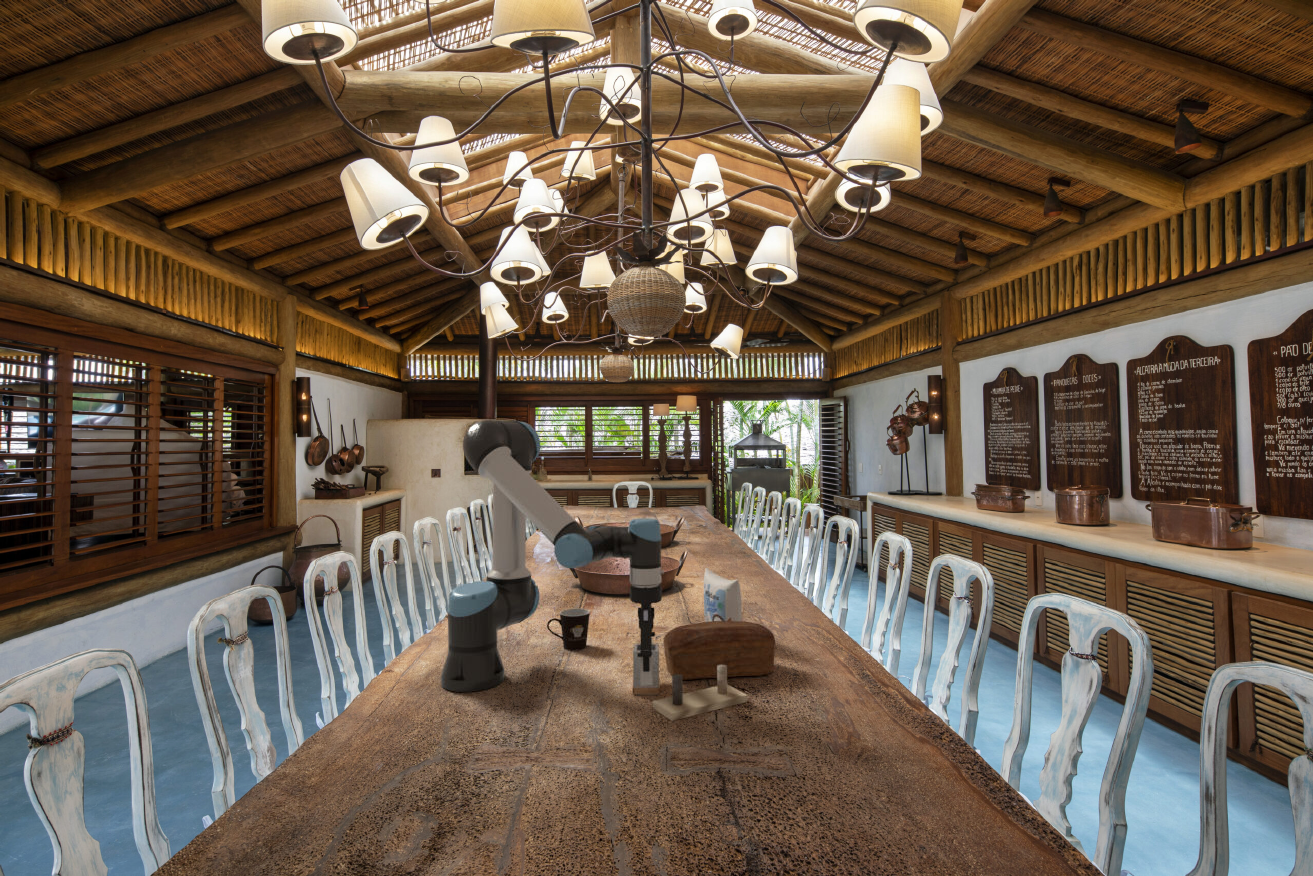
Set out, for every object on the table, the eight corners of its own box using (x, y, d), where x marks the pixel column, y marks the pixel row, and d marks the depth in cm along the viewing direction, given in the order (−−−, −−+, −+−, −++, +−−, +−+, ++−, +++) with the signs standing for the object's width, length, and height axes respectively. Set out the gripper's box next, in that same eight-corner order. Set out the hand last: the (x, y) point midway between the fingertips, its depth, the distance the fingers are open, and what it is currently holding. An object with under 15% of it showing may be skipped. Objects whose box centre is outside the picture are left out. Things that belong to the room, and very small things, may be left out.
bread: (781, 678, 162) (781, 629, 162) (669, 685, 158) (669, 635, 158) (764, 660, 176) (763, 614, 176) (660, 666, 172) (660, 619, 172)
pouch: (720, 631, 203) (720, 566, 203) (749, 649, 185) (749, 578, 185) (697, 633, 200) (697, 568, 201) (724, 652, 183) (724, 580, 183)
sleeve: (660, 694, 152) (659, 651, 152) (632, 695, 152) (632, 651, 152) (659, 684, 158) (659, 643, 158) (633, 684, 158) (633, 643, 158)
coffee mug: (592, 642, 192) (592, 608, 192) (586, 652, 183) (586, 616, 183) (553, 641, 193) (553, 608, 193) (546, 651, 184) (546, 615, 184)
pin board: (671, 721, 137) (671, 685, 137) (652, 707, 144) (652, 673, 144) (747, 701, 147) (746, 668, 147) (726, 690, 154) (725, 658, 154)
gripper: (662, 596, 143) (663, 693, 142) (661, 573, 168) (662, 656, 167) (627, 596, 143) (628, 694, 142) (632, 574, 168) (633, 657, 167)
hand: (647, 674), depth 155 cm, fingers open, 13 cm apart
